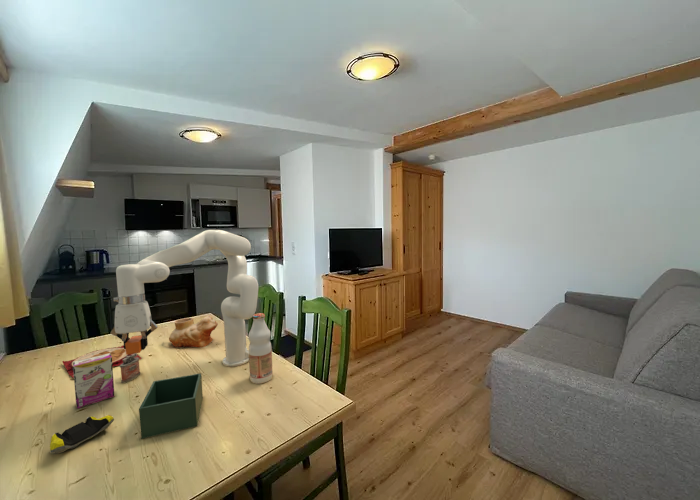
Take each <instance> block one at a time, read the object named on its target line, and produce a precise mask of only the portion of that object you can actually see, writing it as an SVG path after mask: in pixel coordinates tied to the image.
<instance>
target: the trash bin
mask: <svg viewBox="0 0 700 500" xmlns="http://www.w3.org/2000/svg"><path fill="white" fill-rule="evenodd" d="M202 379H203V378H202V372H200V373H199V372H198V373H193V374H188V375H187V374H186V375H183V376H177V377H170V378H165V379H158V380H153V382H152V383H151V385H150V387H149V389H148V390H147V393H146V395H145V397H144V398H143V401H142V403H141V404H140V406H139V408H138V414H139V427H140V428H139V429H140V439H141V440H142V439H148V438H151V437H157V436H159V435H160V436H161V435H165V434H170V433H173V432H178V431H183V430H187V429H191V428H196V427H198V424H199V418H200V415H201V414H200V413H201V408H202V403H203V399H204V397H203V395H204V394H203V380H202Z"/></svg>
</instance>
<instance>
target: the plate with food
mask: <svg viewBox="0 0 700 500" xmlns="http://www.w3.org/2000/svg"><path fill="white" fill-rule="evenodd" d="M109 353H110V354H111V356H112V367H113V368H114V367H120V365H121V364H122V363H123V359H124V358H126V356H131V355H132V354H127V355H126V349H124V344H122V345H121V346H115V347H114V346H113V347H107V348H101V349H98V350H97V349H96V350H93V351H90V352H88V353H87V352H86V353H84V354H82V355H79V356H78V357H76V358H74V359H70V360H62V361H61V362H62V364H63V366H64V368H65V369H66V372H67V374H68V375H69V376H70V377H71V378H73V379H74V372H73V362H75V361H79V360H83V359H88V358H92V357H96V356H100V355H105V354H109ZM136 357H138V358H139V360H141V359H143V358H142V357H141V356H140V355H138V354H137V356H136ZM136 357H134V358H136Z"/></svg>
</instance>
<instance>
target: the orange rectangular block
mask: <svg viewBox="0 0 700 500" xmlns="http://www.w3.org/2000/svg"><path fill="white" fill-rule="evenodd" d="M129 338H130V339H129V340H128V341H127V342H126V343H125V347H126V355H127V354H134V353H136V354H140V353H141V352H142V351H143V350H142V349H141V339H142V335H141V334H140V335H133V336H131V337H129Z"/></svg>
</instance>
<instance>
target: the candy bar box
mask: <svg viewBox="0 0 700 500" xmlns="http://www.w3.org/2000/svg"><path fill="white" fill-rule="evenodd" d="M113 368H114V367H112V356H111V354H110V353H109V354H105V355H100V356H96V357H92V358H88V359H83V360H79V361H75V362H73V372H74V378H73V383H74V384H73V385H74V395H75V396H74V397H75V405H76V406H75V407H76V409H77V410H78V409H82V408H83V407H86V406H90V405H93V404H96V403H99V402H103V401H105V400H109V399H112V398H114V397H115V382H114V369H113Z"/></svg>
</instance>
